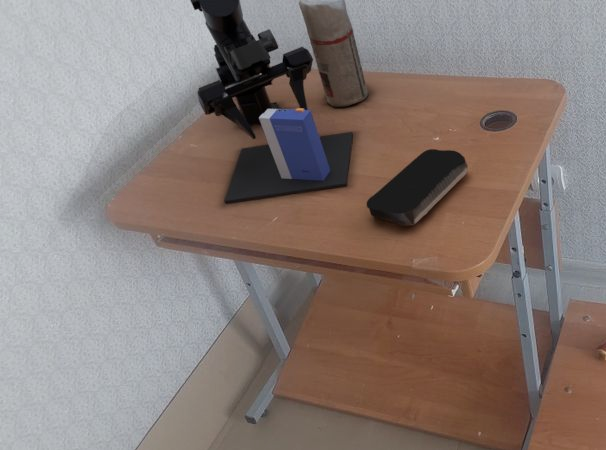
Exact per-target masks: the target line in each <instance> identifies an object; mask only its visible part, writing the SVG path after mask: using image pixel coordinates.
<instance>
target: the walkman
mask: <svg viewBox="0 0 606 450" xmlns="http://www.w3.org/2000/svg"><path fill="white" fill-rule="evenodd" d="M259 120H260V122H261V124H260V125H261V127H262V131H263V133H264V135H265V138H266V142H267V145H268V144H269V147H270V149H271V152H272V155H273V157H274V160H275V162H276V165H277V168H278V170H279V173H280V175H281V178H285V179H302V180H318V181H324V179H325V178H326V176H327V175H328V174H329V172H330V168H329V165H328V162H327V159H326V156H325V153H324V150H323V147H322V143H321V140H320V137H321V136H320V134H319V131H318V129H317V126H316V123H315V119H314V117H313V114H312V110H311V109H307V110H304V108H300V107H297V108H296V109H290V108H286V109H285V108H277V109H267V110H266V111H265V112H264V113H262V115H261V116H260V117H259Z"/></svg>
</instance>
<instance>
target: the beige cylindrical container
mask: <svg viewBox="0 0 606 450" xmlns="http://www.w3.org/2000/svg"><path fill="white" fill-rule="evenodd" d="M298 7H299V9H300V12H301V16H302V18H303V21H304V24H305V27H306V32H307V36H308V39H309V42H310V46H311V49H312V54H313V56H314V59H315V64H316V67H317V70H318V74H319V77H320V80H321V84H322V87H323V90H324V94H325V97H326V98H325V100H326V103H327V104H329V105H331V106H332V107H336V108H337V107H339V108H340V107H348V106H351V105H355V104H357V103H360V102H363V101H364V100H365V99H366V98H367V97H368V96H369V91H368V87H367V83H366V80H365V74H364V71H363V67H362V64H361V58H360V55H359V51H358V47H357V43H356V38H355V34H354V29H353V25H352V22H351V19H350V17H349V13H348V10H347V3H346V1H345V0H299V1H298Z"/></svg>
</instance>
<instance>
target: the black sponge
mask: <svg viewBox="0 0 606 450" xmlns="http://www.w3.org/2000/svg"><path fill="white" fill-rule="evenodd" d="M467 173H468V163H467V161H466V158H465V156H464V155H463V154H462V153H460V152H458V151H456V150H451V149H445V150H441V149H435V148H431V149H426V150H424V151H423V152H421V153H420V154H419V155H418V156H417V157H415V158H414V159H413V160H412V161H411V162H409V163H408V164H407V165H406V166H405V167H404V168H403V169H402V170H400V172H399V173H397V174H396V175H394V177H393V178H392V179H390V180H389V181H388V182H387V183H386V184H385V185H384V186H383V187H382V188H380V189H379V190H378V191H377V192H376V193H374V194H373V195H371V196H370V197H369V198H368V199H367V201H366V207H367V209H369V213H370V215H371V216H372V217H374V218H375V219H380V220H385V221H390V222H393V223H395V224H398V225H399V226H414V225H416V224H417V223H418V222H419V221H420V220H421V219H422V218H423V217H424V216H426V215H427V214H428V213H429V211H430V210H431V209H432V208H433V207H434V206H435V205H436V204H437V203H438V202H439V201H441V199H443V198H444V196H446V194H447V193H449V192H450V191H451V189H453V188H454V186H456V184H457V183H458V182H459V181H460V180H462V179H463V177H465V175H466V174H467Z"/></svg>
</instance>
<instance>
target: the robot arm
mask: <svg viewBox="0 0 606 450" xmlns="http://www.w3.org/2000/svg"><path fill="white" fill-rule="evenodd" d="M189 1H190V3H191V6H192V8H193V9H194V11H197V10H198V11H199V12H201V13H202V14H203V17H204V19H205V26H206V28H207V29H208V31H209V33H210V34H211V37H212V39H213V40H214V43H215V44H214V47H213V51H214V57H215V60H216V62H217V65H218V67H216V68H215V70H216V73H217V75H218V78H219V79H218V80H215V81H213V82H211V83H207V84H206V85H202V86H200V87H198V90H197V93H196V94H197V98H198V102H199V105H200V107H201V109H202V111H203V112H204V114H205V115H206V116H208V115H209V116H210V115H212V114H214V115H215V116H216V117H220V116H223V117H225V118H226V119H227V120H228V121H230V122H232V123H233V124H235V125H236V126H237V127H239V128H240V129H241V131H243V132H244V133H245V134H247V135H248V136H249V137H250V138H251V139H252V140H256V138H257V136H256V135H255V134H256V133H255V132H254V130H253V128H252V127H251V126H254V125H261V122H260V120H259V117H260V116H261V115H262V113H264V112H265V111H266V110H267V109H278V106H279V104H278V102H277V101H274V102H271V100H270V97H269V94H268V92H267V90H266V87H267V86H273V81H274V80H275V79H277V78H280V77H282V76H286V78H289V81H288V82H289V83H288V85H289V87H290V89H291V91H292V94H293V95H294V98H295V100H296V102H297V104H298V106H299V108H304V110H308V106H307V99H306V95H305V93H306V92H305V88H304V87H305V86H304V81H305V80H306V79H307V76H308V74H309V73H310V72H311V71H312V66H313V61H314V58H313V57H312V54H311V53H310V51H309V49H307V48H305V47H304V46H300V47H296V48H295V49H292V50H290V51H288V52H285V53H283V54H282V62H280V63H277V64H275V65H272V66H270V64H271V58H272V57H271V55H270V53H271V52H274V51H276V50H278V49H279V44H278V42H277V39H276V38H275V36H274V34H273V33H272V31H271V29H266V30H263V31H261V32H259V33H257V37H258V39H256V38H255V36H254V35H253V34H252V32H251V30H250V29H249V26H248V25H247V23H246V21H245V20H244V13H243V8H242V5H241V1H240V0H189ZM234 98H235V100H236V103H237V104H236V103H235V100H234ZM237 105H238V106H237Z"/></svg>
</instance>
